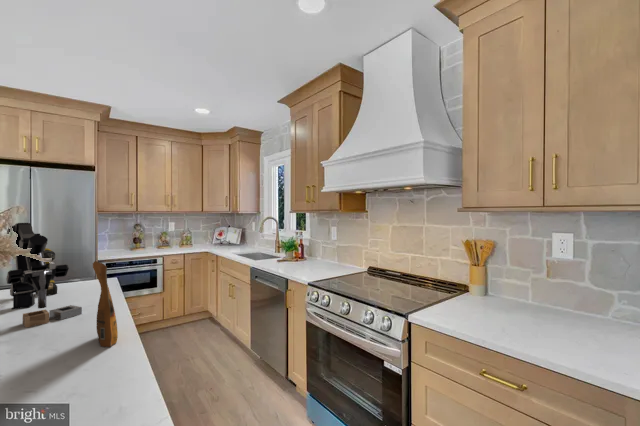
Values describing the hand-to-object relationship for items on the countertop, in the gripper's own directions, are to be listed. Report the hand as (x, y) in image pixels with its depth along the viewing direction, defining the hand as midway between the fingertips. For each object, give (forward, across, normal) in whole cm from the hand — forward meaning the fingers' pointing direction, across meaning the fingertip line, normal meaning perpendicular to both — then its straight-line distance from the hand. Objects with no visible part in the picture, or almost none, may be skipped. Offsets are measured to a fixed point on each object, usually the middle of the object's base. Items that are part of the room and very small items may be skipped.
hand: (43, 289), depth 124 cm
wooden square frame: (+9, +2, -10) cm, 14 cm away
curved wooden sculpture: (+38, -8, +19) cm, 44 cm away
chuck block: (+8, -8, -11) cm, 16 cm away
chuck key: (+4, 0, -6) cm, 8 cm away
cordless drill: (-28, -13, -47) cm, 56 cm away
